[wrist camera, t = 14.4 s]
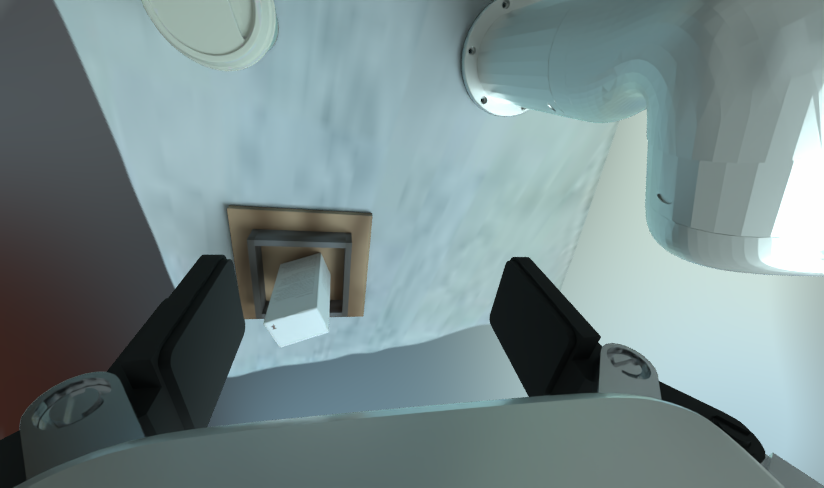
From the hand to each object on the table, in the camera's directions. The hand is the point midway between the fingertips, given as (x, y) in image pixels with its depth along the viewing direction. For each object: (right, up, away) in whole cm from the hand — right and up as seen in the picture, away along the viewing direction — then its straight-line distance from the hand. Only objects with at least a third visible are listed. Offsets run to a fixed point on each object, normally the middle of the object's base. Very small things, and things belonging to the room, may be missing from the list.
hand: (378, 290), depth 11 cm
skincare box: (-14, -2, +34) cm, 37 cm away
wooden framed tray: (-15, -2, +35) cm, 38 cm away
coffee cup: (-15, +24, +20) cm, 35 cm away
